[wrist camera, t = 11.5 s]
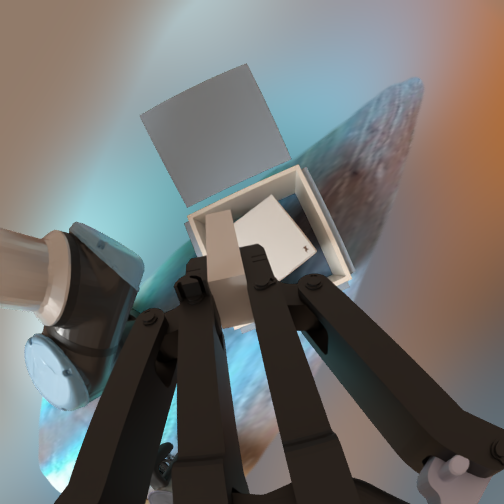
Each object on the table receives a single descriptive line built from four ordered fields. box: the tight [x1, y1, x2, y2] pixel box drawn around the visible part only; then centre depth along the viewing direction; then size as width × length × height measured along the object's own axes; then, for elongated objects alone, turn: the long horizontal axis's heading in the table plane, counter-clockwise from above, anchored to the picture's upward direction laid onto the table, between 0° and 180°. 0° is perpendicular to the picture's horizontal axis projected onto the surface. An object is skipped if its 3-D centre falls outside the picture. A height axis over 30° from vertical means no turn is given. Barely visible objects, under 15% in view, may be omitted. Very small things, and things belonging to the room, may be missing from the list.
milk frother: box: [148, 442, 178, 504], centre depth 41 cm, size 14×16×15 cm
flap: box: [140, 64, 291, 208], centre depth 35 cm, size 1×15×14 cm
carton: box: [185, 165, 355, 334], centre depth 43 cm, size 17×18×12 cm
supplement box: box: [234, 195, 317, 281], centre depth 41 cm, size 9×9×15 cm
